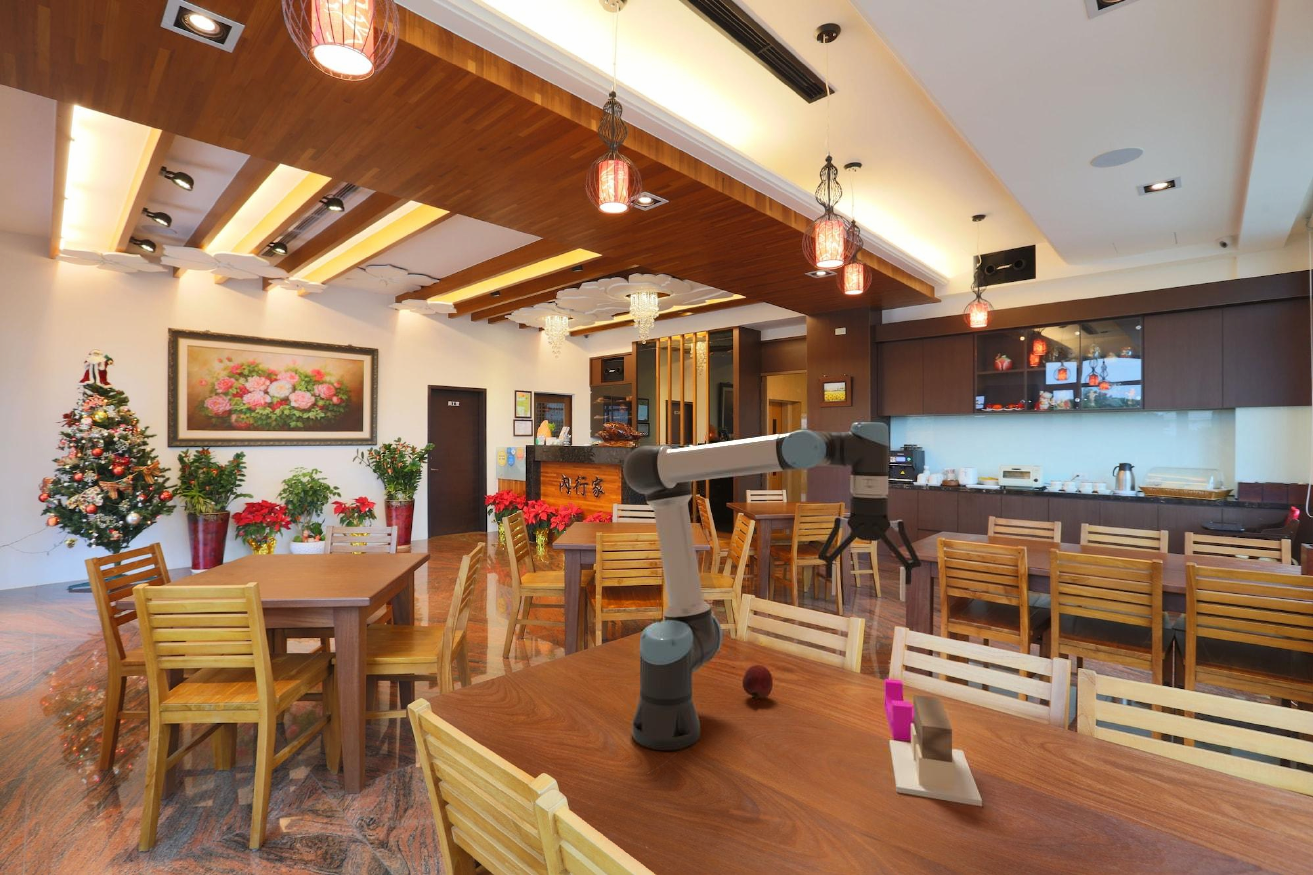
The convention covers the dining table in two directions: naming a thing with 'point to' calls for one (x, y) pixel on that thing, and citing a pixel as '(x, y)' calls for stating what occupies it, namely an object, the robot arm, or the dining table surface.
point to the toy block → (898, 710)
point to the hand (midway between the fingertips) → (867, 596)
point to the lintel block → (932, 728)
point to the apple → (758, 681)
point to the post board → (932, 792)
